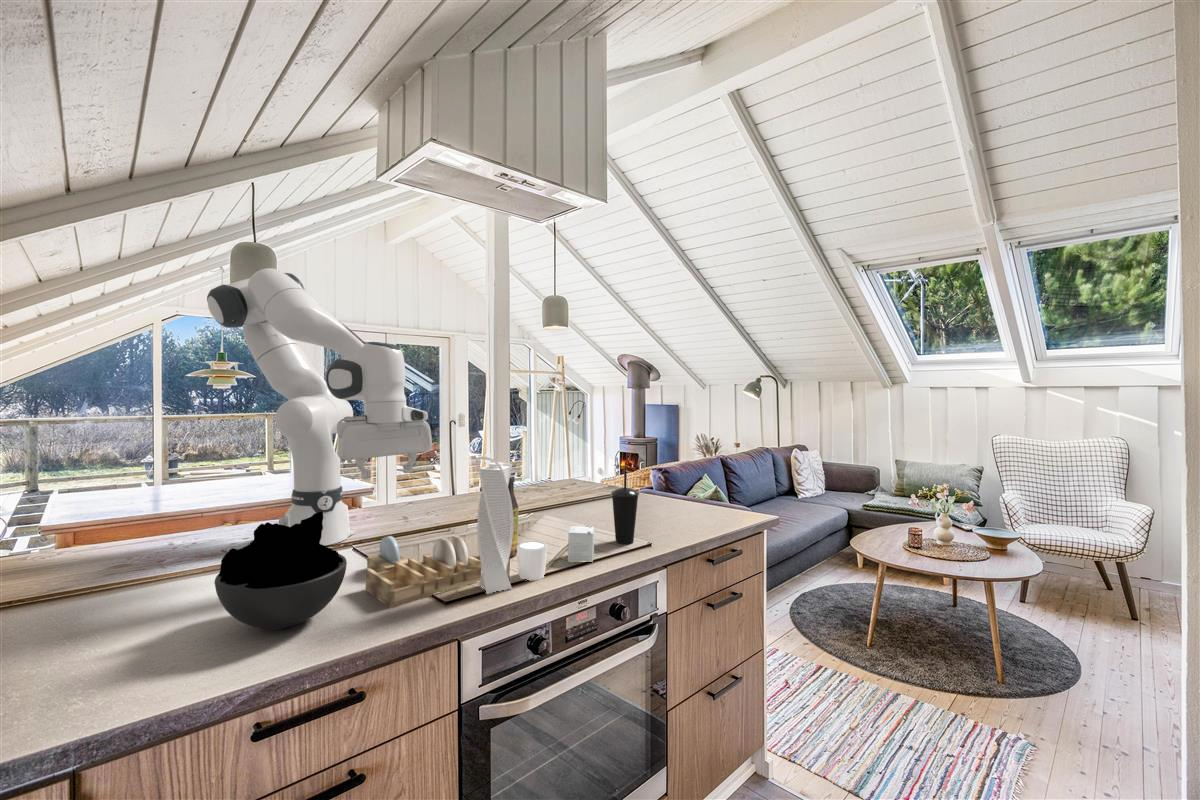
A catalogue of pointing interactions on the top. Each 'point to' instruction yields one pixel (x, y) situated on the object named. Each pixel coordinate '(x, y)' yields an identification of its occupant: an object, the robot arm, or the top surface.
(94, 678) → the top surface
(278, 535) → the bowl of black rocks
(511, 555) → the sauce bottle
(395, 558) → the blue plate
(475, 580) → the dish rack
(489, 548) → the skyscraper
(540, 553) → the white cylinder
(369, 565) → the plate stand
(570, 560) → the skincare box
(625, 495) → the drinking cup
